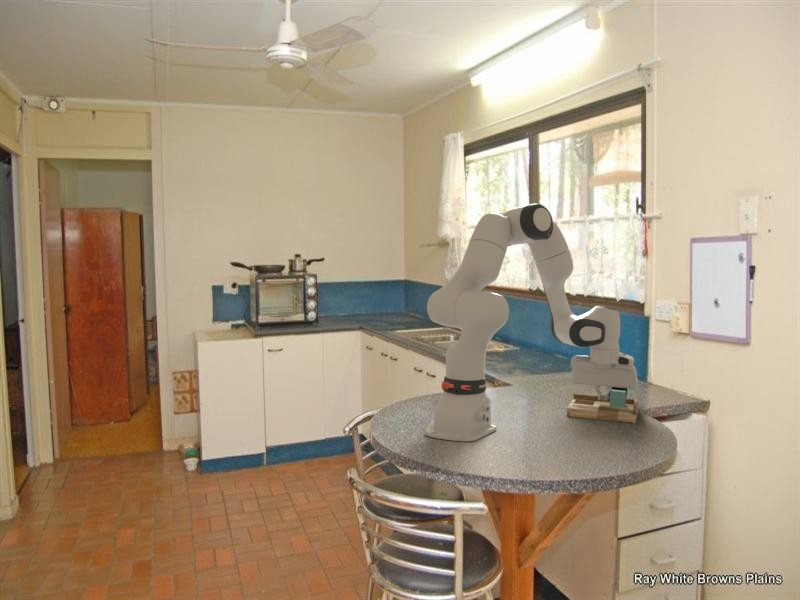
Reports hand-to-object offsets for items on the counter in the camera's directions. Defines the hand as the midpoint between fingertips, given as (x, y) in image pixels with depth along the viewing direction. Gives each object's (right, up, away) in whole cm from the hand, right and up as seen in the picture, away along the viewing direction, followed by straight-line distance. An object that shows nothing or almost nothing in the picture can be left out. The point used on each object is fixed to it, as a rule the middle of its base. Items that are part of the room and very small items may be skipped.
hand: (602, 399), depth 200 cm
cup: (+10, -3, +15) cm, 19 cm away
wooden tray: (-1, -4, -3) cm, 5 cm away
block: (+4, -2, -2) cm, 5 cm away
